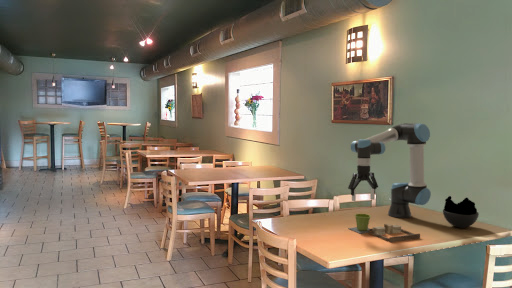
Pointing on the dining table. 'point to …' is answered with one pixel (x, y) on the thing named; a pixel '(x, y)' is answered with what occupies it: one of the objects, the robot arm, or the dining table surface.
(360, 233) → the mat
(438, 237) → the dining table surface
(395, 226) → the offcut right
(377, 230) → the offcut left
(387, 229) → the offcut top
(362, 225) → the plant pot
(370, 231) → the dark brown tray
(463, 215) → the coal bowl
